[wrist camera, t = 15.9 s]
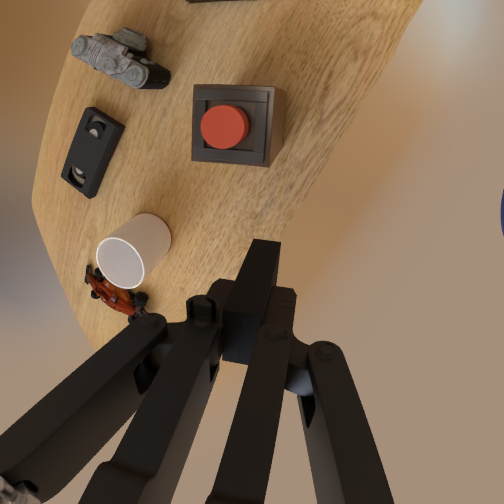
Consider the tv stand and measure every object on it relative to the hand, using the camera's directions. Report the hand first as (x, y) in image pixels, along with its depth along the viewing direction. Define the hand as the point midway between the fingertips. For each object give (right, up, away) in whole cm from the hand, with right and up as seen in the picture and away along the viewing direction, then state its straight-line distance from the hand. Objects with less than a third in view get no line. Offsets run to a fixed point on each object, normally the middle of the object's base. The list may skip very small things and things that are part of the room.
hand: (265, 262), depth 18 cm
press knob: (-3, +12, +11) cm, 17 cm away
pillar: (0, +19, +25) cm, 32 cm away
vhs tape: (-28, +18, +32) cm, 46 cm away
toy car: (-28, -7, +44) cm, 52 cm away
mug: (-19, +2, +37) cm, 42 cm away
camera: (-18, +31, +23) cm, 43 cm away
